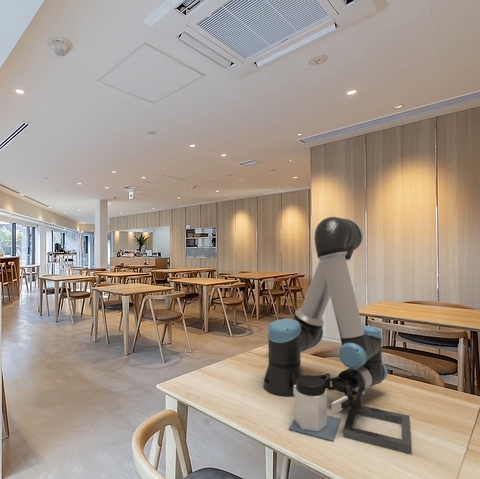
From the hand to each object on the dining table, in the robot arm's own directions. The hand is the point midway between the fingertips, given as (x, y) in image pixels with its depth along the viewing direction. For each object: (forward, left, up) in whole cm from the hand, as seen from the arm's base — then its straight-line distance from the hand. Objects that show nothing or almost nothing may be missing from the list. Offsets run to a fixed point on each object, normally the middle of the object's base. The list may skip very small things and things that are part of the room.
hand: (312, 399), depth 90 cm
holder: (+17, +7, -8) cm, 19 cm away
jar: (-1, +1, -7) cm, 7 cm away
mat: (+1, +1, -8) cm, 8 cm away
